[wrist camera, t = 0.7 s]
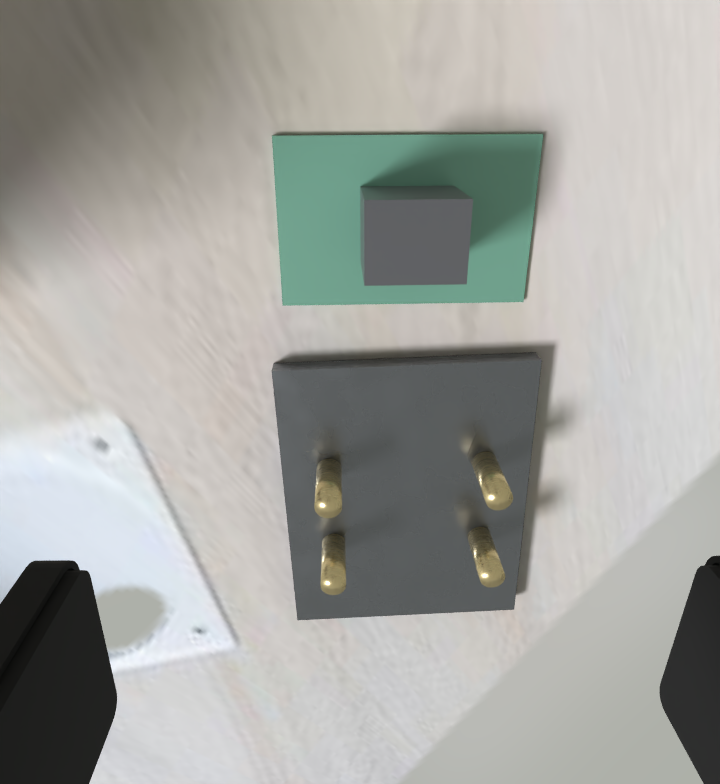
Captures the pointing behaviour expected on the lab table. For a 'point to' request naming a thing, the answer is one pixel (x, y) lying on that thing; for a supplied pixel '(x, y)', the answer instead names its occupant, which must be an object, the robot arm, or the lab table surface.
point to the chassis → (406, 481)
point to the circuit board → (402, 161)
